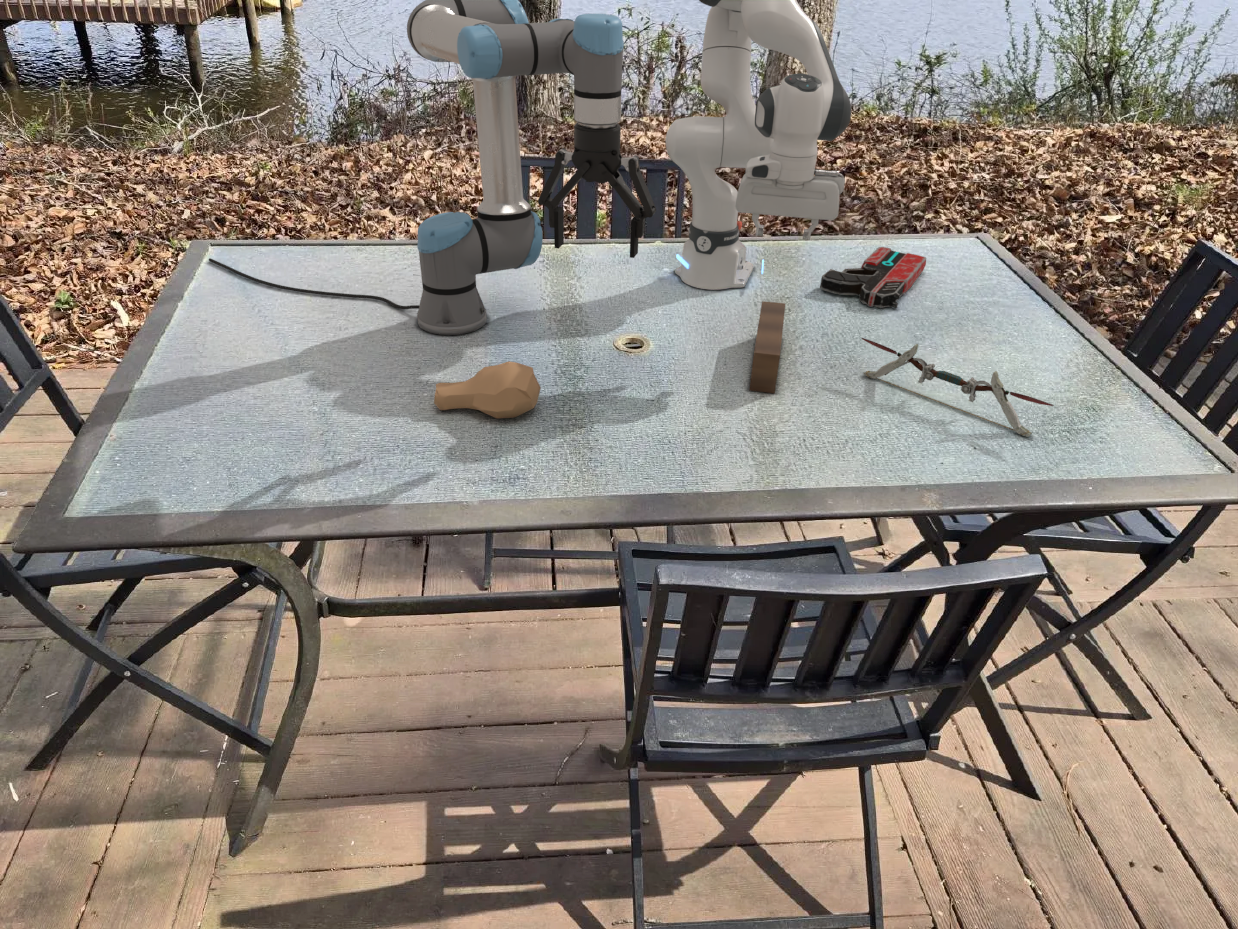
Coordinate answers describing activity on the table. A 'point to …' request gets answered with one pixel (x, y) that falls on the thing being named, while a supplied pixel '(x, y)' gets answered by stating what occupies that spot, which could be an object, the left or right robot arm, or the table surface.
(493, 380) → the squash
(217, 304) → the table surface
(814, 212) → the right robot arm
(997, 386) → the bow
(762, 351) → the bar
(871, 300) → the gun
